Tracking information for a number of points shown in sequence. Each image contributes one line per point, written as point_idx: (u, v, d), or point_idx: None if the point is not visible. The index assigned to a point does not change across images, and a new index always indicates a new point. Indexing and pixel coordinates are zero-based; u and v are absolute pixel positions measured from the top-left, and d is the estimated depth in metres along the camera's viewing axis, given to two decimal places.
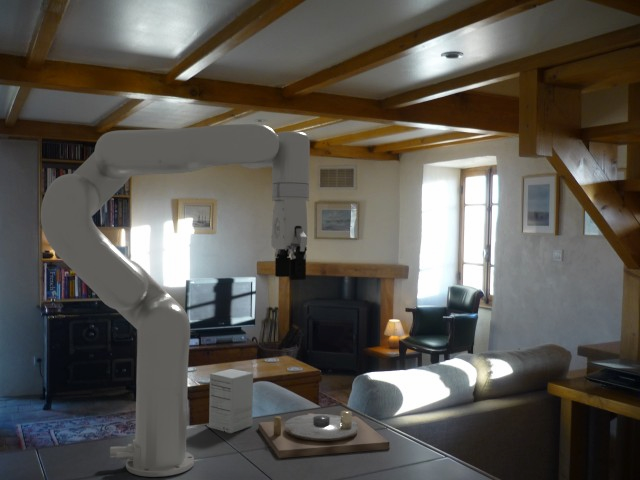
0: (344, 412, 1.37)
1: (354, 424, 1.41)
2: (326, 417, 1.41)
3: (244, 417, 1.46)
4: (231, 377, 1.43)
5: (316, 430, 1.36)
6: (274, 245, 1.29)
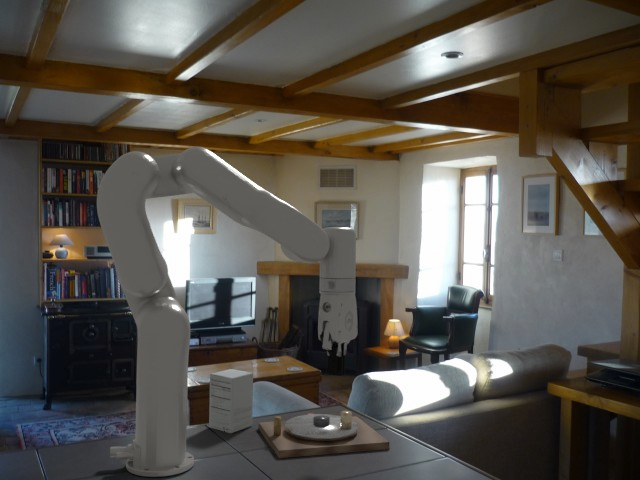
0: (344, 412, 1.37)
1: (354, 424, 1.41)
2: (326, 417, 1.41)
3: (244, 417, 1.46)
4: (231, 377, 1.43)
5: (316, 430, 1.36)
6: (345, 339, 1.30)
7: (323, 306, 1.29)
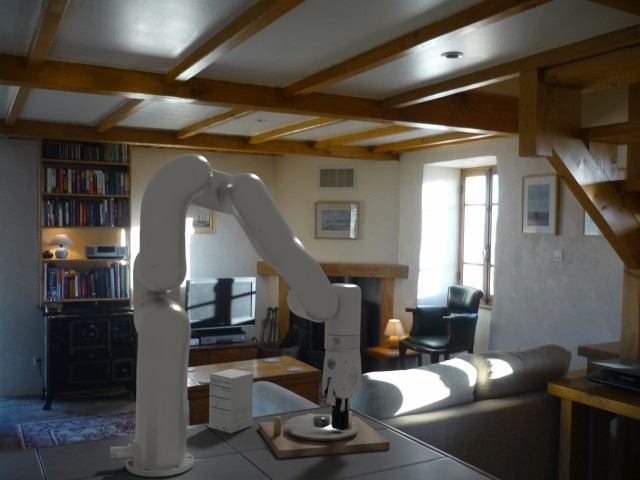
0: None
1: (354, 424, 1.41)
2: (326, 417, 1.41)
3: (244, 417, 1.46)
4: (231, 377, 1.43)
5: (316, 430, 1.36)
6: (349, 395, 1.32)
7: (328, 362, 1.32)
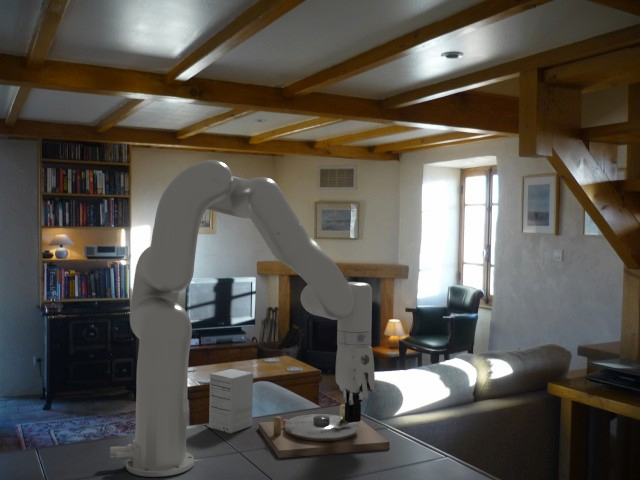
0: None
1: (338, 416, 1.47)
2: (323, 416, 1.42)
3: (244, 417, 1.46)
4: (231, 377, 1.43)
5: (336, 429, 1.37)
6: None
7: None
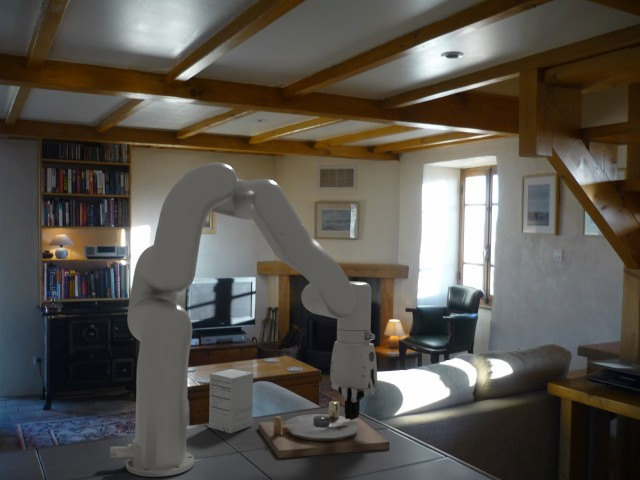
0: (335, 402, 1.45)
1: (320, 414, 1.48)
2: (320, 416, 1.42)
3: (244, 417, 1.46)
4: (231, 377, 1.43)
5: (342, 426, 1.39)
6: None
7: None
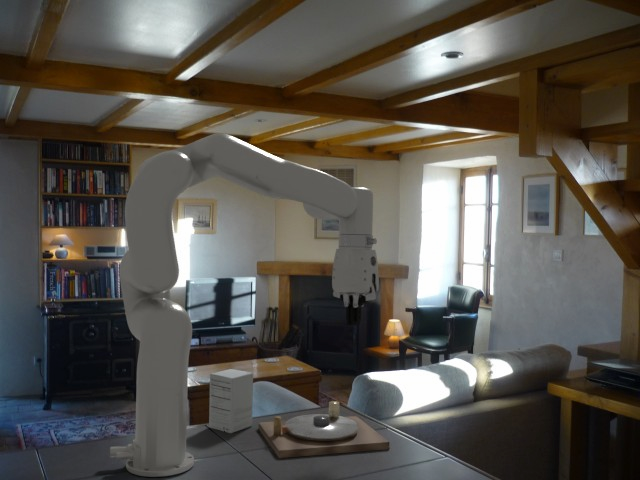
0: (335, 402, 1.45)
1: (320, 414, 1.48)
2: (320, 416, 1.42)
3: (244, 417, 1.46)
4: (231, 377, 1.43)
5: (342, 426, 1.39)
6: None
7: None
